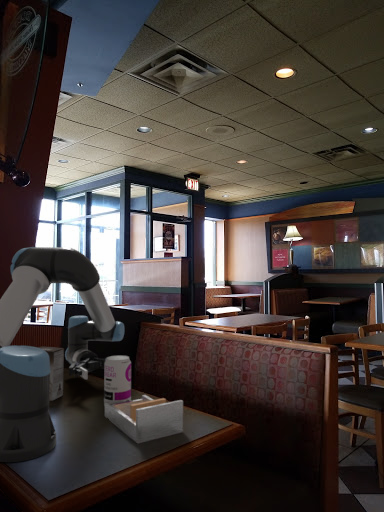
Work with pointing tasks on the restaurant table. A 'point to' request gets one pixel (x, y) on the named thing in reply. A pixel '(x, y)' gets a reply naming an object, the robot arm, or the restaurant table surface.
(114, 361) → the supplement can
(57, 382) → the coffee box
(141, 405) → the plate
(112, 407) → the white drawer tray
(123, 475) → the restaurant table surface
